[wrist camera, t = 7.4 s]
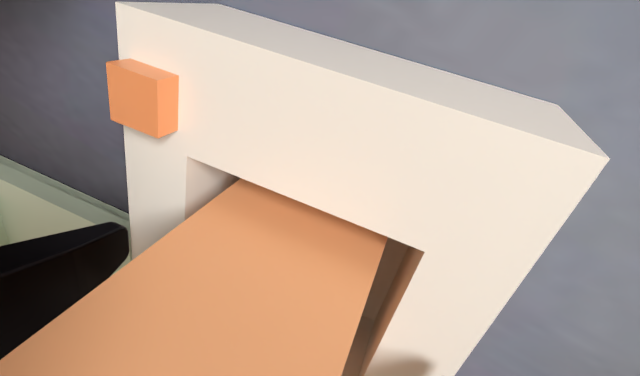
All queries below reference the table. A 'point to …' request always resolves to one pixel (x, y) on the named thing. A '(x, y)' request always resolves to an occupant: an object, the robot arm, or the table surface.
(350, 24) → the table surface
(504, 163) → the outlet strip
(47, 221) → the tray
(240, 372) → the plug
